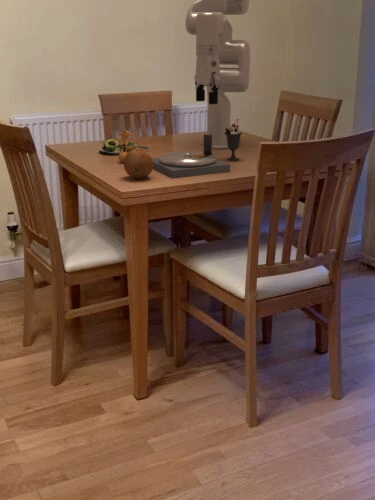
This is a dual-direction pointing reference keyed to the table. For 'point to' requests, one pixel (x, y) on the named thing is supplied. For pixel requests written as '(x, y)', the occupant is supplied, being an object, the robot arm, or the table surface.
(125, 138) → the figurine
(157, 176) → the table surface
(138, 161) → the onion
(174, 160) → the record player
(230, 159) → the sundae
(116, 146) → the avocado toast plate
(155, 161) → the instrument base
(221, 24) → the robot arm
